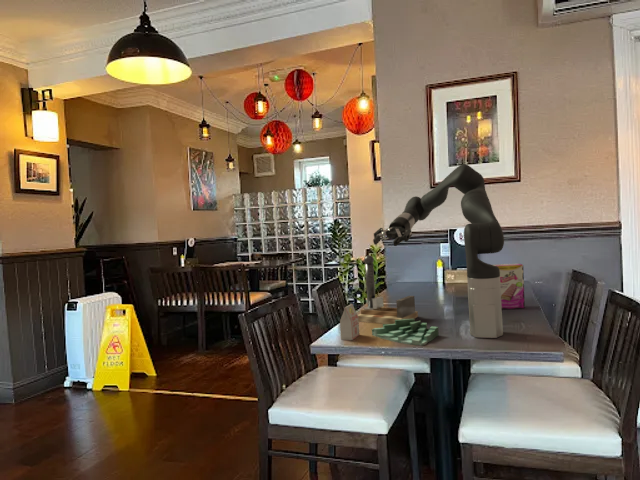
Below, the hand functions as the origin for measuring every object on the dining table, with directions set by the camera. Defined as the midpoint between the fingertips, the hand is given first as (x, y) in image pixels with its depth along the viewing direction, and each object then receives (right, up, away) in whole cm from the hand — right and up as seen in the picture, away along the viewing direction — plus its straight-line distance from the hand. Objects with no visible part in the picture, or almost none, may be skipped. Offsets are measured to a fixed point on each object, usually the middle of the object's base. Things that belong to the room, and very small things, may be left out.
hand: (384, 243), depth 178 cm
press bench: (0, -28, -8) cm, 29 cm away
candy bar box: (+46, -25, -2) cm, 52 cm away
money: (+1, -29, -34) cm, 45 cm away
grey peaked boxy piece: (-15, -30, -31) cm, 46 cm away
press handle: (-5, -26, -5) cm, 26 cm away
